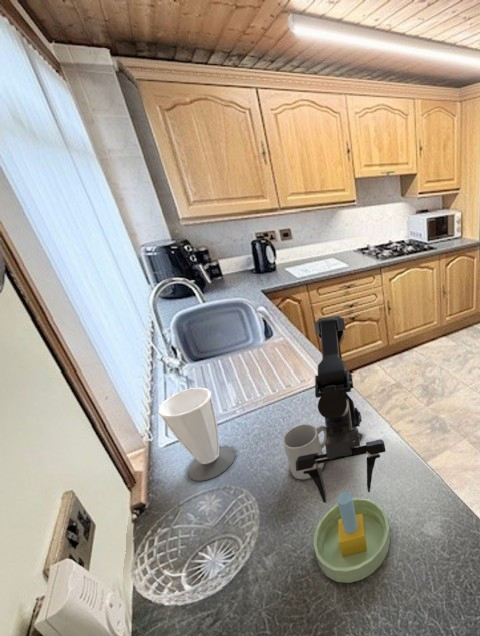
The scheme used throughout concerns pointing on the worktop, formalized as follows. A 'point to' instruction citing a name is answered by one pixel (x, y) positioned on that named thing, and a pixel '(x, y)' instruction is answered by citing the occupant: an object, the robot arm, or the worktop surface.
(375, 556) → the bowl
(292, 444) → the mug
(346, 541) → the sponge wand
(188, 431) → the cup
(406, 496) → the worktop surface
